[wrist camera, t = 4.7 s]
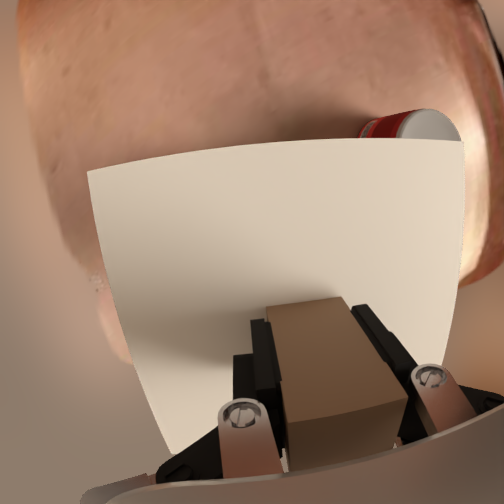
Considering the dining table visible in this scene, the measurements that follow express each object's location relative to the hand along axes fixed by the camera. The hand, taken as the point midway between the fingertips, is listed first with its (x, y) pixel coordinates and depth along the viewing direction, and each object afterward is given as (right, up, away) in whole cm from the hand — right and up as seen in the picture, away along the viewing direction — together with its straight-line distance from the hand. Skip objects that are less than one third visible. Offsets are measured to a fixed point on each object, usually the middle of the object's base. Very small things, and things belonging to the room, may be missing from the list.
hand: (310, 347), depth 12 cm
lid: (0, +1, +2) cm, 2 cm away
